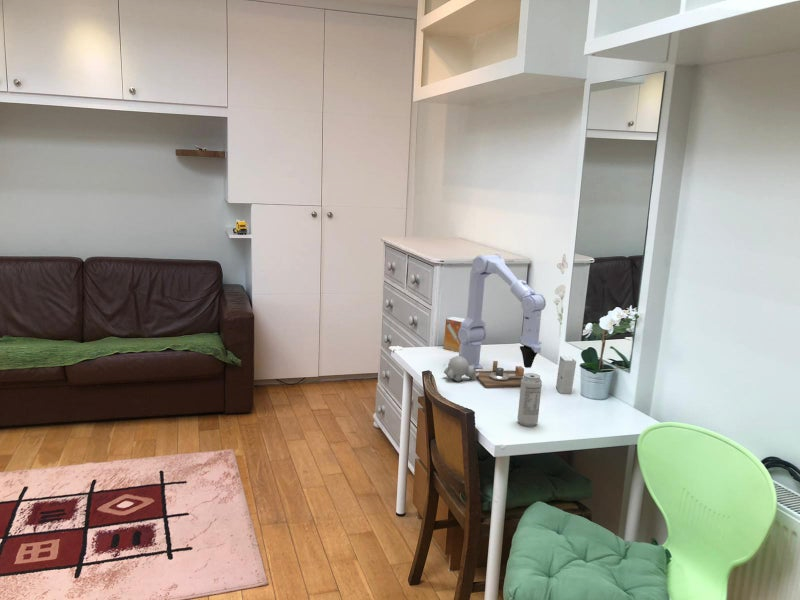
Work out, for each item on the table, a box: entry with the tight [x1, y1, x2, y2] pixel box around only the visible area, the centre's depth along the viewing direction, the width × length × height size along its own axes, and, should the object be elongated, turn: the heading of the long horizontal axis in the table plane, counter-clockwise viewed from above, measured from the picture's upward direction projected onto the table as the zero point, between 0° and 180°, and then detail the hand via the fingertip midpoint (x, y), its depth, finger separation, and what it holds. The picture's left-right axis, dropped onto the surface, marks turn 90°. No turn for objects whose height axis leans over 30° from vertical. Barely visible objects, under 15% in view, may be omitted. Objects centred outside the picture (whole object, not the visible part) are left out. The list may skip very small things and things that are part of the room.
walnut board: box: [475, 360, 522, 389], centre depth 242 cm, size 16×17×5 cm
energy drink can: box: [517, 372, 543, 427], centre depth 202 cm, size 6×6×15 cm
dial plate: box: [489, 365, 525, 380], centre depth 241 cm, size 12×7×4 cm, turn 102°
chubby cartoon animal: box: [443, 355, 479, 382], centre depth 240 cm, size 7×12×8 cm, turn 98°
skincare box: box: [555, 355, 577, 395], centre depth 234 cm, size 6×4×12 cm
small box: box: [443, 316, 466, 353], centre depth 280 cm, size 8×6×13 cm
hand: (527, 367), depth 235 cm, fingers closed
